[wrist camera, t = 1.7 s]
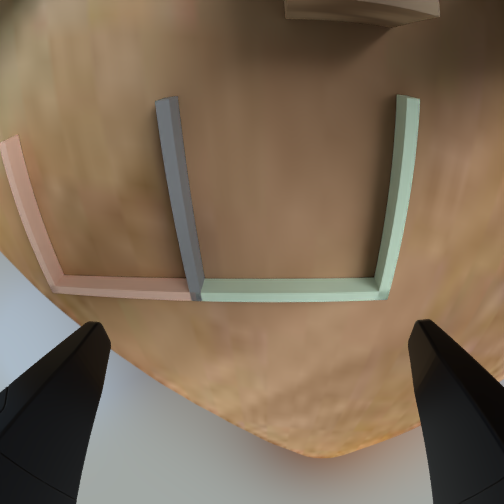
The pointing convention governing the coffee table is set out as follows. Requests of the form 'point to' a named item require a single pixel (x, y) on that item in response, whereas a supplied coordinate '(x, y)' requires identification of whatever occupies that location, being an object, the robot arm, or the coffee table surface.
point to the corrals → (184, 220)
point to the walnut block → (364, 11)
